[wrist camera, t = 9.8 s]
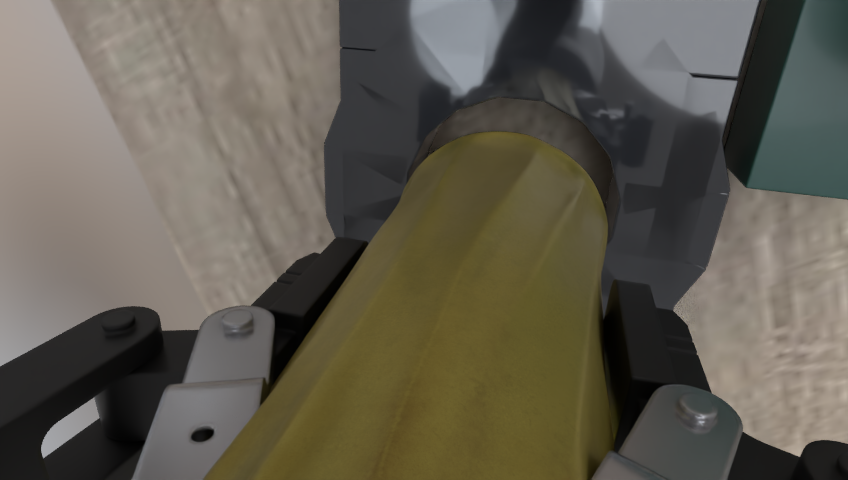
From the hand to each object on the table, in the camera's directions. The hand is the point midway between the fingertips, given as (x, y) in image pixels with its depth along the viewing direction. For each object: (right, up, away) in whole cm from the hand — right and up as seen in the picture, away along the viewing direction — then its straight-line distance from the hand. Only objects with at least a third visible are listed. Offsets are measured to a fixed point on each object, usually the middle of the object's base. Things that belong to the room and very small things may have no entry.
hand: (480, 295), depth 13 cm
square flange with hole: (+2, +4, +8) cm, 9 cm away
